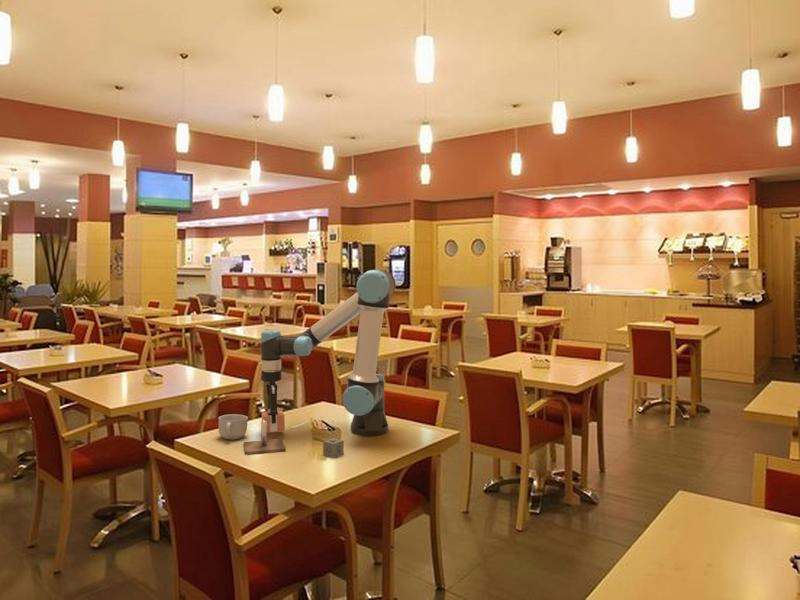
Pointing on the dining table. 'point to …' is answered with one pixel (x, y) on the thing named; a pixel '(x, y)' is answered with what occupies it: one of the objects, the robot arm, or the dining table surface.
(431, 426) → the dining table surface
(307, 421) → the butter knife
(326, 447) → the dice cube
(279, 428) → the pink upright block
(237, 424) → the teacup
